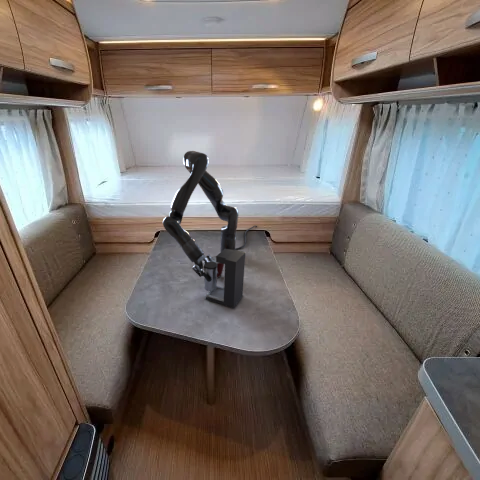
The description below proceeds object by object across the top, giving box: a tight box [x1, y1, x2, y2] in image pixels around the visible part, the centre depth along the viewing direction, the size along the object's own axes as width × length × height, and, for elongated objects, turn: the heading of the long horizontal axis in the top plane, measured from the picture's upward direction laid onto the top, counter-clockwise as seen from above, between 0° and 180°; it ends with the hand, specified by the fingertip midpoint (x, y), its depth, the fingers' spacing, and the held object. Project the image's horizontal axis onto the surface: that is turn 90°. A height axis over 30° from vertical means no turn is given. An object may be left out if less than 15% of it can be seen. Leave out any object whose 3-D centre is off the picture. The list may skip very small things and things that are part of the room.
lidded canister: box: [204, 262, 218, 292], centre depth 128 cm, size 6×6×13 cm
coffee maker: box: [205, 249, 246, 309], centre depth 124 cm, size 15×11×24 cm
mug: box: [211, 256, 225, 278], centre depth 146 cm, size 11×8×10 cm
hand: (213, 277), depth 128 cm, fingers closed on lidded canister, 6 cm apart
